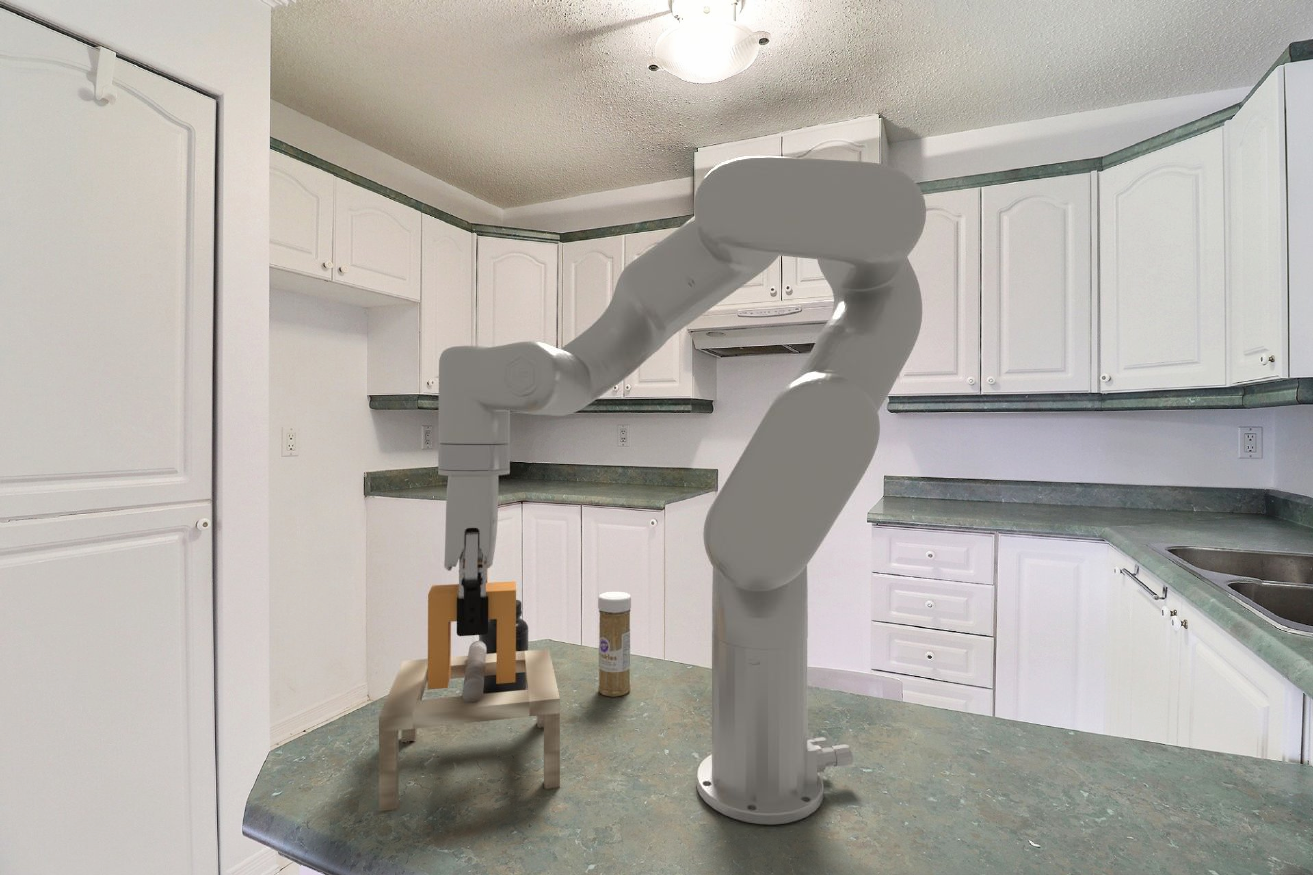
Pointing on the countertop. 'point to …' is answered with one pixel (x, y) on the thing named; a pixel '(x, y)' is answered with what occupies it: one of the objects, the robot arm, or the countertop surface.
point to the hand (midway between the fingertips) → (473, 626)
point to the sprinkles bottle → (614, 643)
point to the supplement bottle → (491, 648)
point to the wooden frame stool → (467, 709)
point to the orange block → (445, 612)
